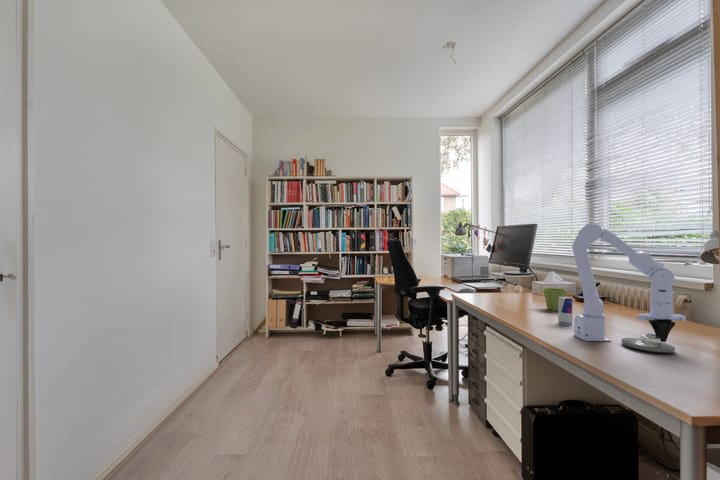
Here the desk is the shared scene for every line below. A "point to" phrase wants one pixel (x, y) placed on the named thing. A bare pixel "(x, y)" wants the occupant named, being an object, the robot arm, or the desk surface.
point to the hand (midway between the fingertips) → (661, 341)
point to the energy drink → (565, 310)
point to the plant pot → (553, 297)
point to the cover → (651, 340)
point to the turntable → (647, 346)
